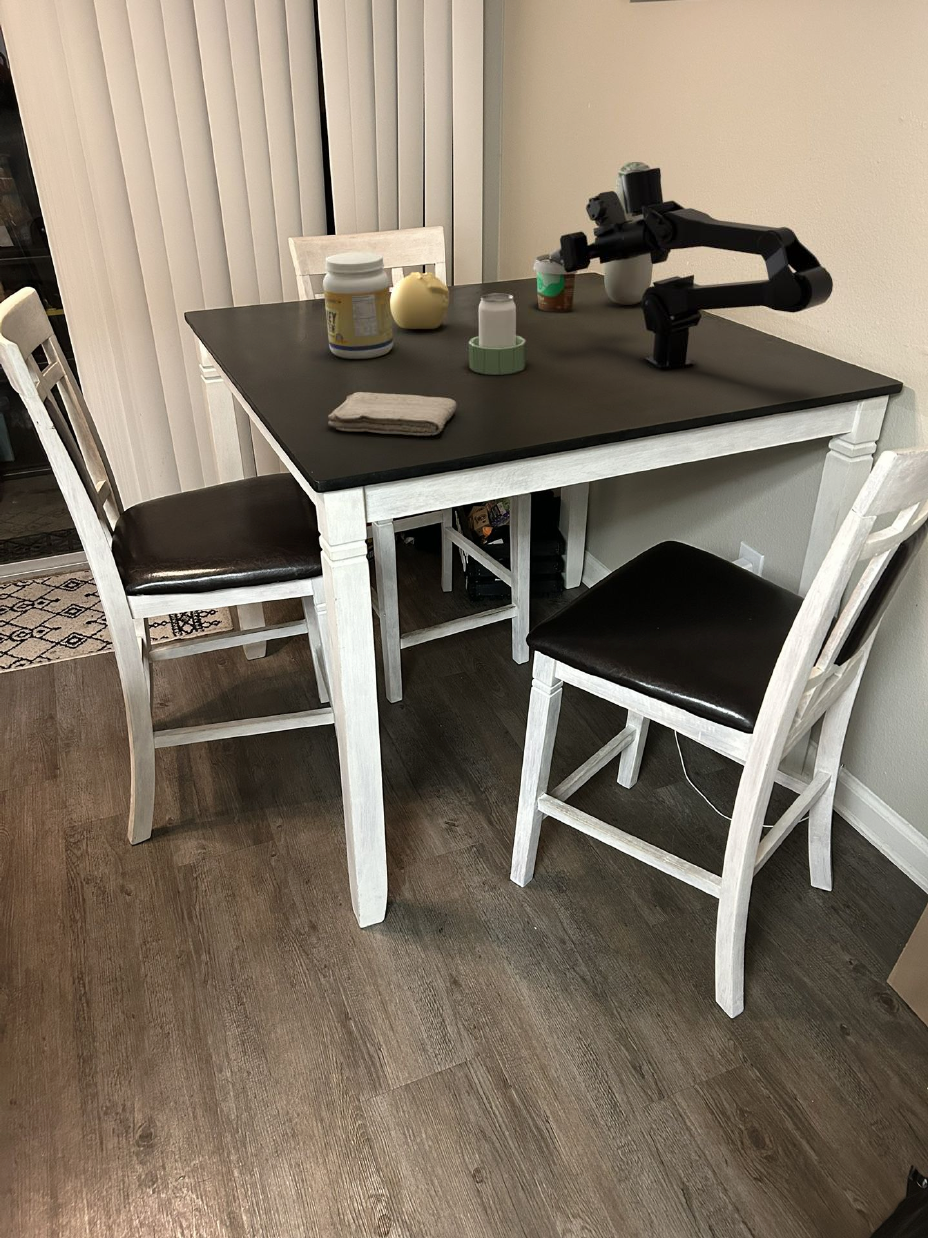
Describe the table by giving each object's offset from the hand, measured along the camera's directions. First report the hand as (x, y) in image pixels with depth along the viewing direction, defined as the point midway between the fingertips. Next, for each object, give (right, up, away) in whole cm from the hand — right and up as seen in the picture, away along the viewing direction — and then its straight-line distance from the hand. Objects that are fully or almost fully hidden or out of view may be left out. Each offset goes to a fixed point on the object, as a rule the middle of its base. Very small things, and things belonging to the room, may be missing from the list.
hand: (568, 253), depth 171 cm
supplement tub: (-39, -17, +3) cm, 43 cm away
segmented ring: (-14, -23, -7) cm, 27 cm away
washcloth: (-30, -38, -30) cm, 57 cm away
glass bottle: (+16, +1, +30) cm, 34 cm away
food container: (-1, -1, +29) cm, 29 cm away
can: (-13, -23, -7) cm, 28 cm away
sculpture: (-28, -8, +18) cm, 34 cm away
